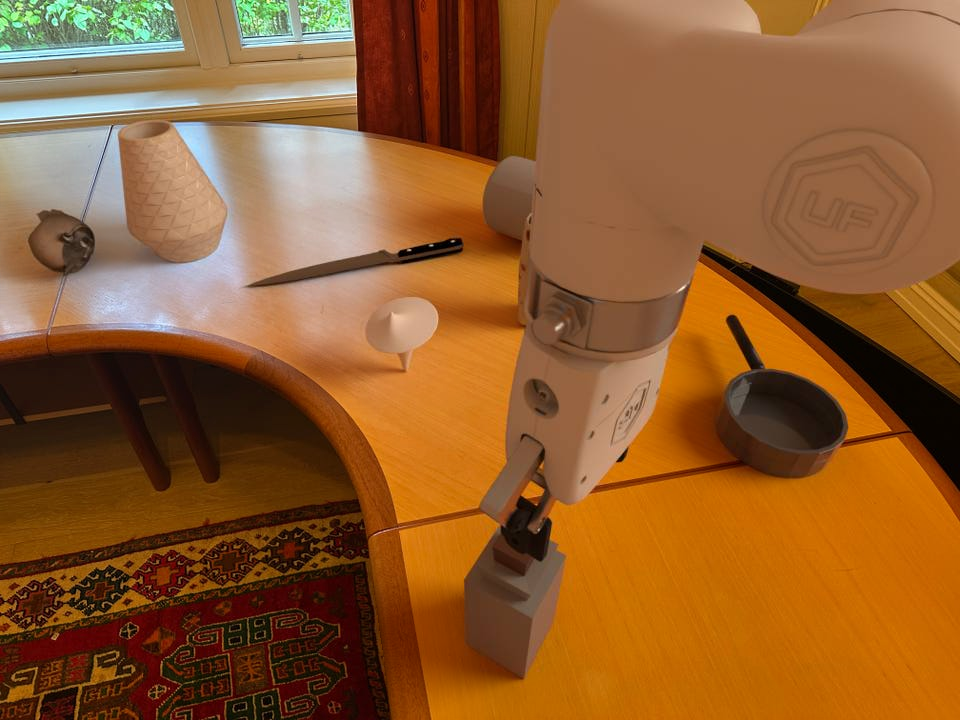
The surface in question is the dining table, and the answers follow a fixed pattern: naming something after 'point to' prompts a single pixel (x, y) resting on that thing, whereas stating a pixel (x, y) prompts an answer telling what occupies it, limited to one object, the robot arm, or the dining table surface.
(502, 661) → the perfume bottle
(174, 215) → the vase
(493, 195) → the jar
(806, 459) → the pan
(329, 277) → the dining table surface
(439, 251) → the steak knife
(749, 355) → the pan handle
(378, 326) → the white spinning top
